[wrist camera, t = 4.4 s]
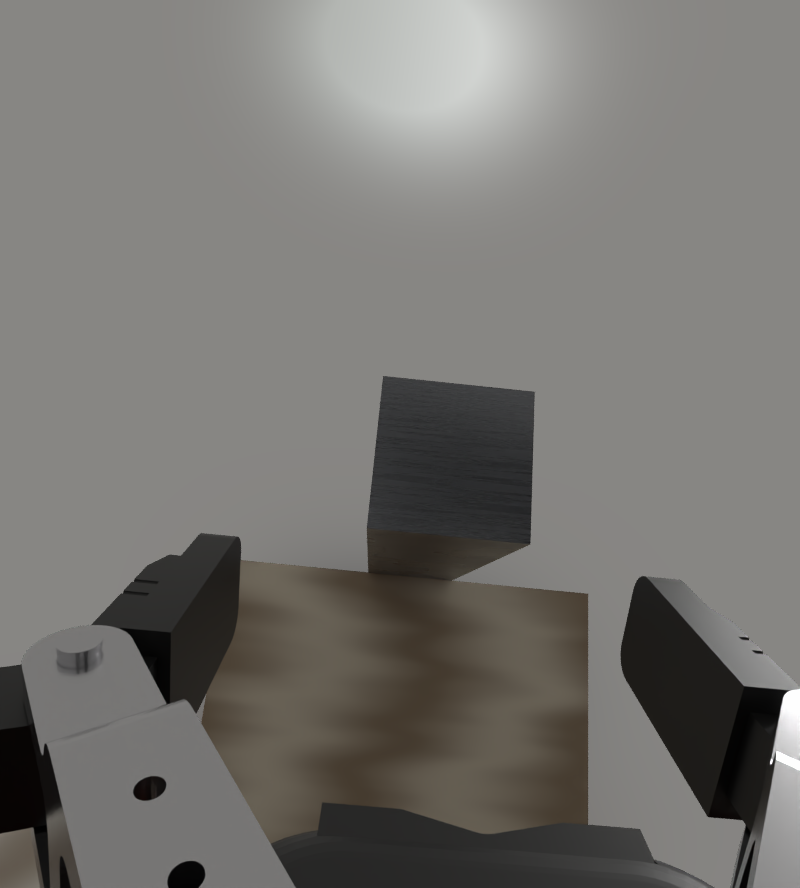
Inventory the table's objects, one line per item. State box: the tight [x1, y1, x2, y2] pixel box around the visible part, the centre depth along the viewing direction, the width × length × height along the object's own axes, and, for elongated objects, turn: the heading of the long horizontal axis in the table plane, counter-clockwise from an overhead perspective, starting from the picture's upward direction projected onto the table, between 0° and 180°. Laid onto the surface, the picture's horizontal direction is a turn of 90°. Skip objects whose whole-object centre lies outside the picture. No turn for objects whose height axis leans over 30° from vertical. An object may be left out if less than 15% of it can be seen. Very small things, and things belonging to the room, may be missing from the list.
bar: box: [367, 376, 535, 581], centre depth 26 cm, size 3×30×3 cm, turn 3°
